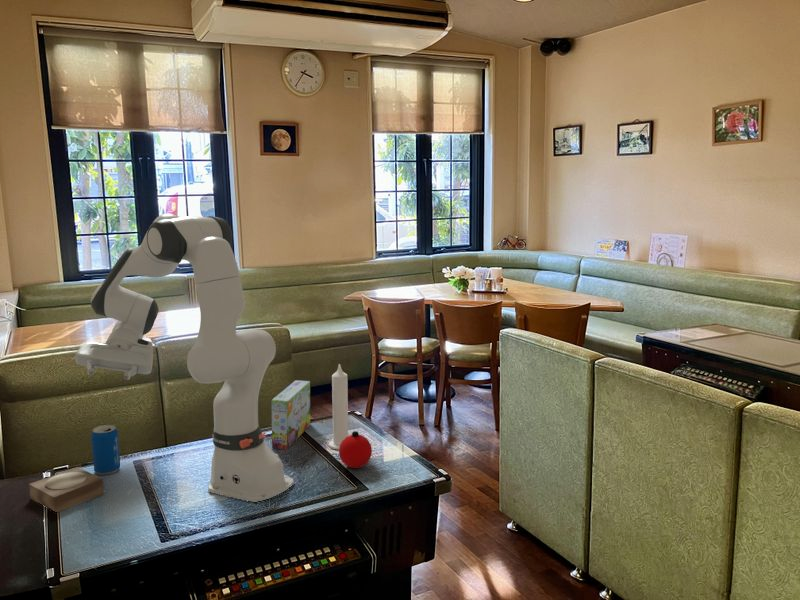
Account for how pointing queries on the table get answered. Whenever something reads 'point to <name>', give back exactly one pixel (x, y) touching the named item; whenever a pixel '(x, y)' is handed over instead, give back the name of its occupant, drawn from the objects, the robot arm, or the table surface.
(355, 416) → the table surface
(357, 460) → the ornament
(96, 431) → the beverage can
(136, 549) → the table surface
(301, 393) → the snack box
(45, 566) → the table surface
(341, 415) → the candle
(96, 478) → the base block
